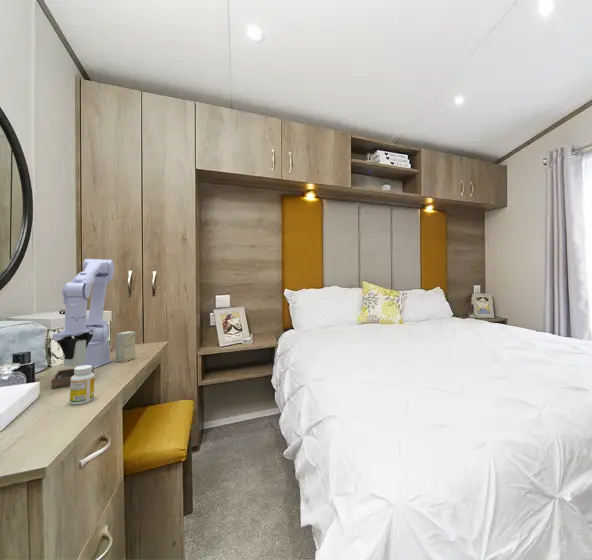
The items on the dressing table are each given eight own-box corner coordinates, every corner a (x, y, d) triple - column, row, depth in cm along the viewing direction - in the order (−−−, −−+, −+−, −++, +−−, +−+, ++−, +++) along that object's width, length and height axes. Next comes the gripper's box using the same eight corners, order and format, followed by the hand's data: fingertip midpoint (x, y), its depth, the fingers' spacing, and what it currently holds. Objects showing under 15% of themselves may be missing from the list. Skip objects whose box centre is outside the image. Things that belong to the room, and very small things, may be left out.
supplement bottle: (76, 406, 71) (77, 371, 71) (65, 403, 73) (66, 368, 74) (98, 398, 76) (99, 365, 76) (87, 395, 78) (88, 363, 79)
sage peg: (74, 362, 92) (75, 339, 92) (85, 362, 91) (86, 339, 92) (63, 365, 88) (64, 341, 88) (75, 366, 87) (76, 342, 88)
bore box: (57, 379, 91) (57, 370, 91) (93, 374, 96) (93, 366, 96) (51, 389, 82) (51, 379, 83) (91, 382, 88) (91, 373, 88)
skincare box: (123, 362, 111) (124, 333, 111) (114, 361, 112) (115, 333, 112) (135, 358, 117) (136, 331, 117) (127, 357, 118) (127, 330, 118)
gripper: (68, 320, 82) (66, 363, 82) (103, 315, 97) (102, 352, 97) (46, 319, 83) (45, 363, 82) (85, 314, 97) (84, 351, 97)
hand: (74, 357), depth 90 cm, fingers closed on sage peg, 4 cm apart
